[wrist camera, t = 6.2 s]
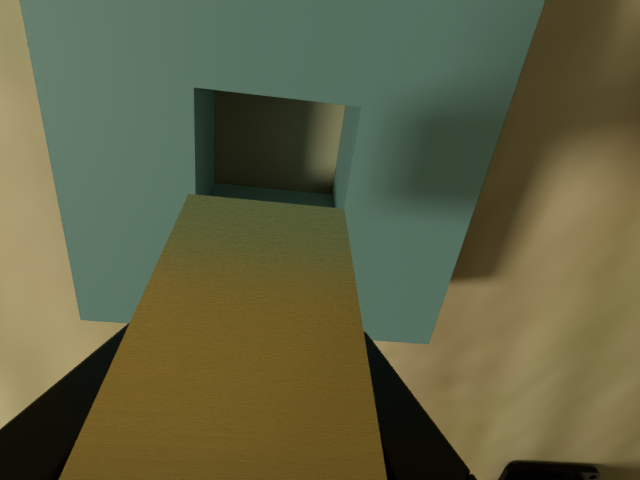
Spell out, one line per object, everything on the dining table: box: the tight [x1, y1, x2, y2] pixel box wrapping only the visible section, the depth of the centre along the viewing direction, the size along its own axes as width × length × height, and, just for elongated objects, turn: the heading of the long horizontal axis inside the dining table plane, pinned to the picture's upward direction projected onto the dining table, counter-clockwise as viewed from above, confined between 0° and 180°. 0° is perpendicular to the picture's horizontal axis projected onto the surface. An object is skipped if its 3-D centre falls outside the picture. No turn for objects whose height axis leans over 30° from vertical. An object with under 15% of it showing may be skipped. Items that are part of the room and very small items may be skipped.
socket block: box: [20, 0, 545, 344], centre depth 17 cm, size 14×14×4 cm
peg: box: [59, 194, 387, 480], centre depth 7 cm, size 3×3×9 cm
